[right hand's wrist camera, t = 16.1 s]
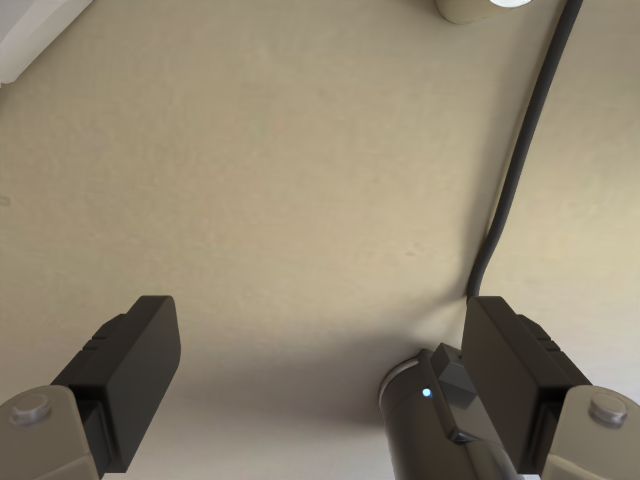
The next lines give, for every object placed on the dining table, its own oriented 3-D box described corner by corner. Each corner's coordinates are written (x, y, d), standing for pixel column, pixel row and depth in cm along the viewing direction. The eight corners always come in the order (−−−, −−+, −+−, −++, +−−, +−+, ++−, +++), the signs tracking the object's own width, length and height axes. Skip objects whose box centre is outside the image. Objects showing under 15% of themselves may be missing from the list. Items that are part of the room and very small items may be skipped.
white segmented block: (114, -137, 24) (34, -198, 18) (162, -79, 26) (102, -118, 19) (-47, 94, 31) (-146, 106, 25) (-3, 133, 32) (-88, 154, 26)
